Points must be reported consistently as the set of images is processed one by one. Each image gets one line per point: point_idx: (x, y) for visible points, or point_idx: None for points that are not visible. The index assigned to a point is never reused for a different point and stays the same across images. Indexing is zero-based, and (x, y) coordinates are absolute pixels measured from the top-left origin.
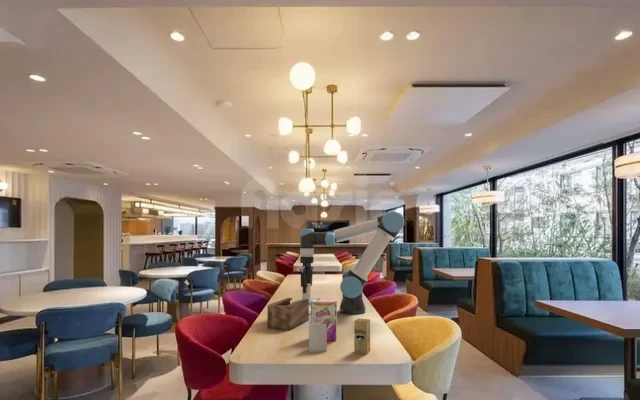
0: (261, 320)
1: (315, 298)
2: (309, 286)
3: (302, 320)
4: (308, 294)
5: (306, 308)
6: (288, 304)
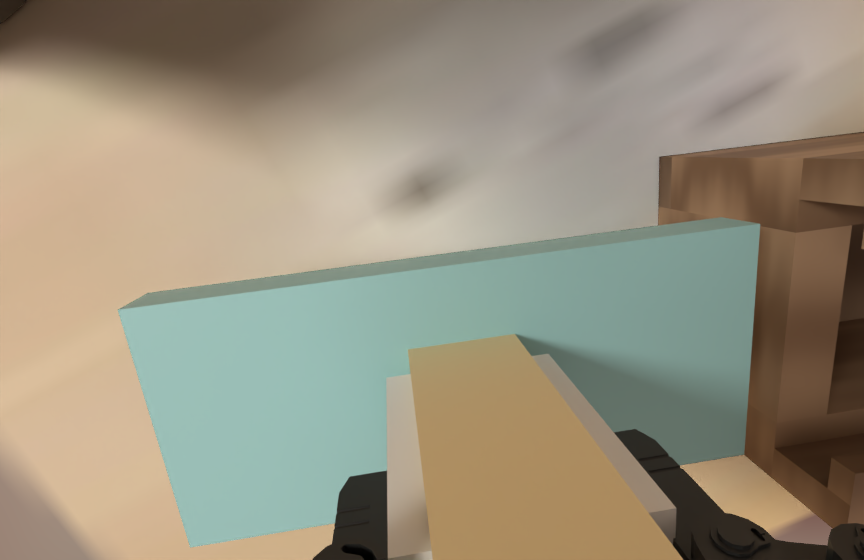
0: (784, 517)
1: (217, 353)
2: (533, 519)
3: (852, 135)
4: (530, 386)
5: (854, 147)
6: (840, 431)
